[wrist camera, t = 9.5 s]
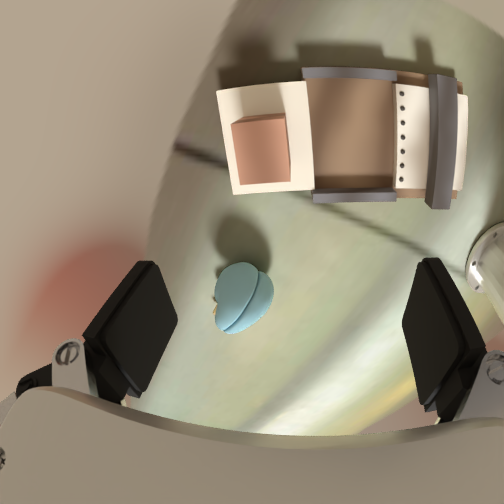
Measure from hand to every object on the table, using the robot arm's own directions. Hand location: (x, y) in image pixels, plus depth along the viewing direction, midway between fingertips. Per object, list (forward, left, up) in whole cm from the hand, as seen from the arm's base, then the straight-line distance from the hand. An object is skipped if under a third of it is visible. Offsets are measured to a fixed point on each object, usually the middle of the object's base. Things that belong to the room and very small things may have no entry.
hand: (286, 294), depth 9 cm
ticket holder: (-11, -2, -22) cm, 25 cm away
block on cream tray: (+2, -2, -21) cm, 21 cm away
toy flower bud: (+8, +18, -22) cm, 30 cm away
